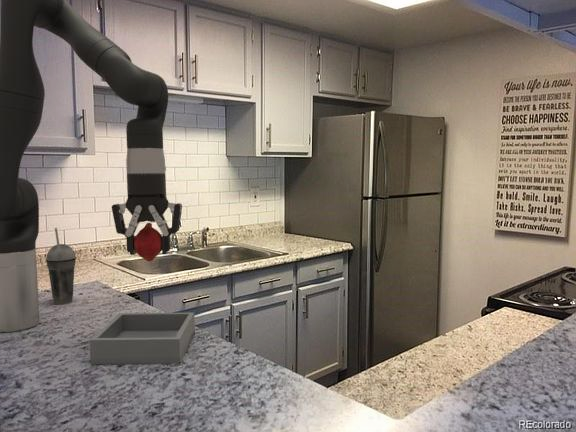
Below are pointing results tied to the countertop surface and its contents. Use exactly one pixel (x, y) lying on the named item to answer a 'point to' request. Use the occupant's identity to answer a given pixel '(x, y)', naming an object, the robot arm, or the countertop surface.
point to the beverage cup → (61, 272)
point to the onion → (148, 242)
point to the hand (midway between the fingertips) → (149, 253)
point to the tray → (143, 338)
